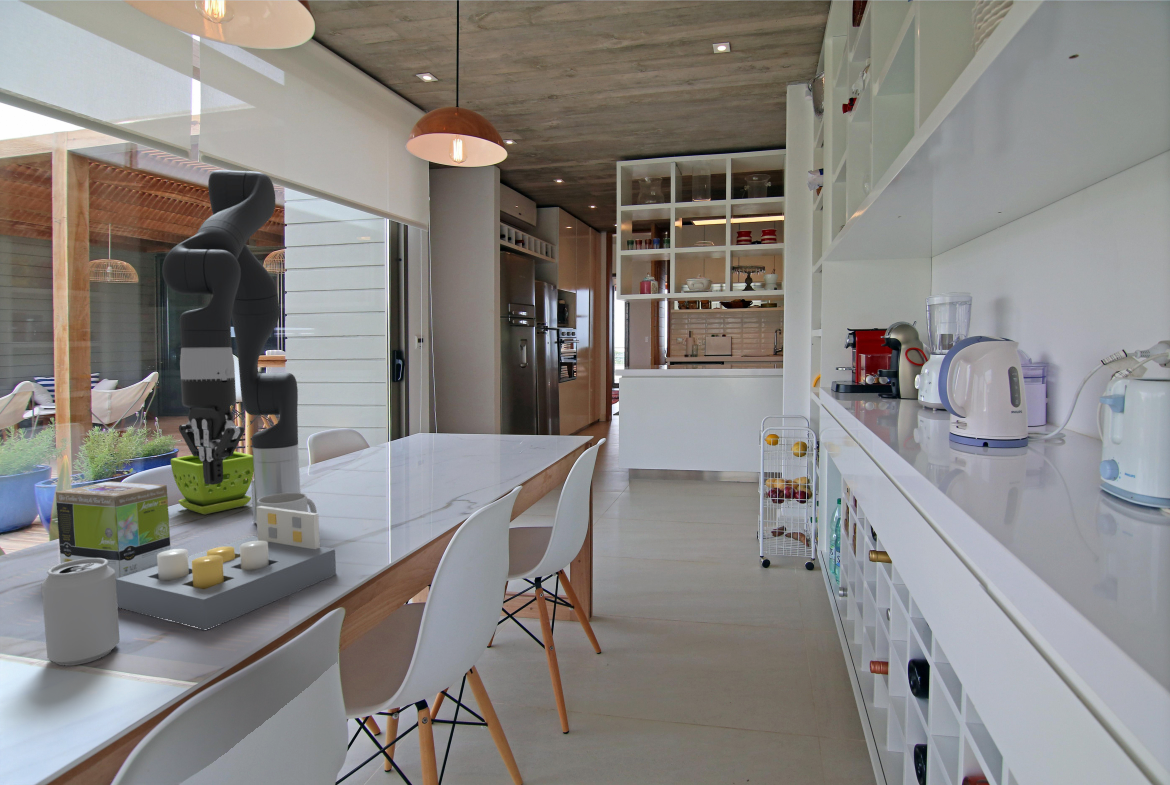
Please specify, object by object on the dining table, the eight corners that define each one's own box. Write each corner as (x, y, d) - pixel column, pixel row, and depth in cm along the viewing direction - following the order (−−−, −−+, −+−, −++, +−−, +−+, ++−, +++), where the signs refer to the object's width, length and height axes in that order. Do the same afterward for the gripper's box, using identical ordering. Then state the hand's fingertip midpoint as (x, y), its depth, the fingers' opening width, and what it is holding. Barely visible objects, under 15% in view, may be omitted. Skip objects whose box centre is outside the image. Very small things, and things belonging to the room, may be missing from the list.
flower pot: (171, 510, 159) (168, 458, 158) (230, 498, 170) (227, 449, 169) (200, 518, 151) (196, 463, 150) (259, 505, 162) (256, 454, 161)
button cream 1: (153, 586, 101) (151, 555, 101) (178, 578, 105) (176, 547, 105) (170, 590, 100) (168, 558, 99) (195, 581, 103) (193, 550, 103)
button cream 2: (235, 577, 105) (234, 546, 105) (257, 568, 109) (255, 539, 109) (253, 580, 104) (251, 549, 103) (274, 572, 107) (273, 542, 107)
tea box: (174, 563, 121) (169, 483, 120) (119, 582, 111) (113, 496, 110) (115, 555, 126) (110, 478, 124) (58, 573, 116) (52, 490, 115)
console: (117, 607, 101) (113, 540, 100) (254, 559, 122) (251, 503, 121) (205, 630, 92) (201, 557, 91) (336, 574, 114) (333, 514, 113)
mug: (260, 558, 123) (257, 505, 122) (258, 544, 131) (256, 495, 130) (322, 549, 128) (320, 498, 127) (317, 536, 136) (315, 488, 135)
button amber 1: (202, 582, 109) (201, 552, 108) (225, 574, 112) (223, 545, 112) (219, 585, 107) (217, 555, 107) (241, 577, 111) (239, 548, 110)
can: (73, 642, 89) (67, 555, 88) (132, 640, 90) (126, 553, 89) (32, 670, 82) (24, 575, 81) (96, 667, 82) (89, 573, 81)
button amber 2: (187, 594, 98) (185, 562, 98) (212, 585, 102) (210, 553, 101) (205, 599, 96) (203, 565, 96) (230, 589, 100) (228, 557, 100)
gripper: (158, 377, 105) (164, 485, 106) (214, 377, 99) (220, 491, 100) (202, 374, 112) (208, 476, 113) (257, 375, 106) (262, 482, 107)
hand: (213, 483), depth 107 cm, fingers closed
